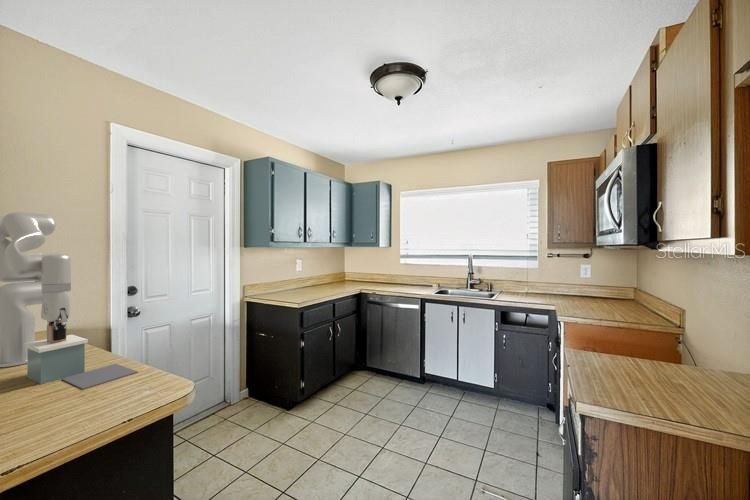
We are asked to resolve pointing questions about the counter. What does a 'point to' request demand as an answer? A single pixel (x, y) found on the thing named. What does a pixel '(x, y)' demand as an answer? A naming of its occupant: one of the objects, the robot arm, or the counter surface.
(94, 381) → the mat
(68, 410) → the counter surface
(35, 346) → the lid
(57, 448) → the counter surface
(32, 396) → the counter surface
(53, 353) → the teal storage bin
